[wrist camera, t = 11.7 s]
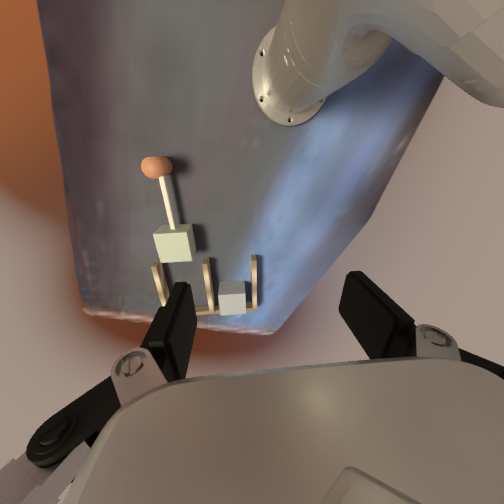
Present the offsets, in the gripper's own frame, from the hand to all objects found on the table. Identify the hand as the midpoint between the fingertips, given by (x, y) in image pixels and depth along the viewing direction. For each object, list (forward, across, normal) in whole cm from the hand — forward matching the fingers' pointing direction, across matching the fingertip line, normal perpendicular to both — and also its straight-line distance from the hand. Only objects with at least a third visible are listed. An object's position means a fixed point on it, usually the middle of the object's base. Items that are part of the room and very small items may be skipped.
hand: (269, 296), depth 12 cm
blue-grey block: (+31, +4, +23) cm, 38 cm away
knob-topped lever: (+30, +14, +2) cm, 33 cm away
